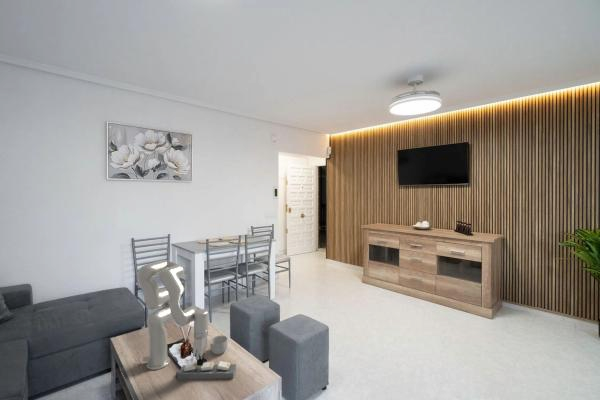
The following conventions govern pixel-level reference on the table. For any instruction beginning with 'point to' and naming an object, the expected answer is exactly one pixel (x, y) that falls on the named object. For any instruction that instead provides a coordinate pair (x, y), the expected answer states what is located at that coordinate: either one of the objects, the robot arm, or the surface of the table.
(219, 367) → the rocker
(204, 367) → the rocker
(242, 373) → the table surface
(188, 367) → the rocker
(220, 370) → the grey rectangular tray
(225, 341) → the teacup
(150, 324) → the robot arm
